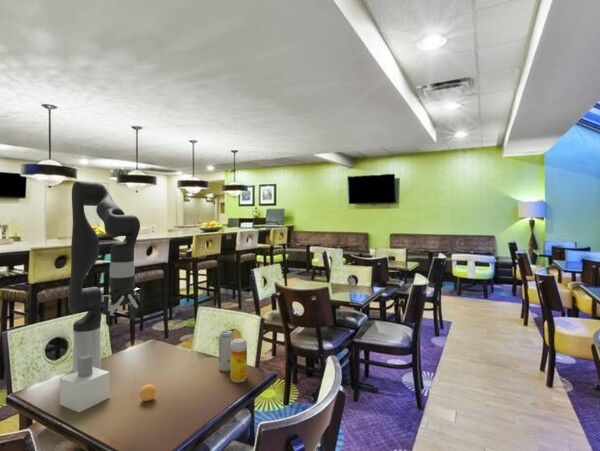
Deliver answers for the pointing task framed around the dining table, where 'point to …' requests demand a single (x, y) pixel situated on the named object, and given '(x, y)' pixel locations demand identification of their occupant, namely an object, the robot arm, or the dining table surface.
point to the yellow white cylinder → (238, 359)
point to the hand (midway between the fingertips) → (121, 322)
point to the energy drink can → (225, 350)
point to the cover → (84, 386)
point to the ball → (147, 392)
